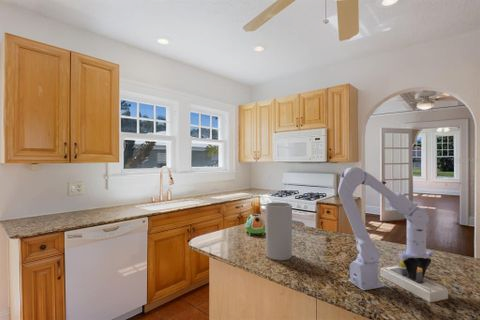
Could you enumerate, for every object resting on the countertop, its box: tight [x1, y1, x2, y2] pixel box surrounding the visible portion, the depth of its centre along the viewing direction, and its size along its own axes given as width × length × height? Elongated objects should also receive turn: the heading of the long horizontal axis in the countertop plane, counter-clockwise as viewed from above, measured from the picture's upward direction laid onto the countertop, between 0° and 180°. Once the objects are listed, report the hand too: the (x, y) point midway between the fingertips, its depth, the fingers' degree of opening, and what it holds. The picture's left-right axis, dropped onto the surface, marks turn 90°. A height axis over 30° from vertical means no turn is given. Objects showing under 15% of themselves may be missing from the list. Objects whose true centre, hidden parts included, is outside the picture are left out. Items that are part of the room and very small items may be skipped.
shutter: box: [390, 267, 408, 276], centre depth 98 cm, size 5×5×3 cm
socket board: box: [379, 264, 449, 303], centre depth 94 cm, size 20×8×4 cm, turn 16°
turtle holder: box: [245, 213, 266, 237], centre depth 164 cm, size 12×18×12 cm
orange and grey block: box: [408, 267, 423, 284], centre depth 92 cm, size 3×3×6 cm
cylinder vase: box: [265, 201, 293, 261], centre depth 124 cm, size 12×12×25 cm
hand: (416, 277), depth 92 cm, fingers closed on orange and grey block, 3 cm apart
